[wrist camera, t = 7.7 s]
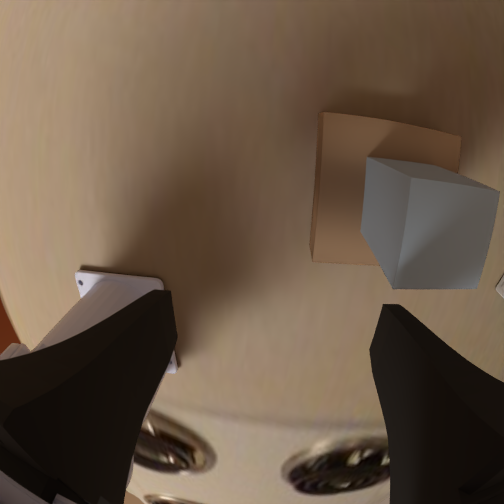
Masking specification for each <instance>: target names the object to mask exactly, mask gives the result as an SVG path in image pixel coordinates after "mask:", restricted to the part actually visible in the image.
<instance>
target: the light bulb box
mask: <svg viewBox="0 0 504 504" xmlns="http://www.w3.org/2000/svg"><path fill="white" fill-rule="evenodd" d="M496 291H497V292H498V293H499V294H500V295H501V296H502V297H503V298H504V275H503V277H502V278H501V280H500V282H499V283H498V285H497V286H496Z"/></svg>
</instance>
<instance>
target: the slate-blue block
mask: <svg viewBox="0 0 504 504" xmlns="http://www.w3.org/2000/svg"><path fill="white" fill-rule="evenodd" d="M499 194H500V191H497V190H495V189H493V188H491V187H488V186H486V185H484V184H482V183H479V182H477V181H474V180H472V179H470V178H467V177H465V176H462V175H460V174H457V173H454V172H452V171H449V170H446V169H444V168H441V167H438V166H435V165H430V164H423V163H416V162H409V161H401V160H392V159H384V158H374V157H367V161H366V177H365V190H364V201H363V212H362V221H361V230H360V232H361V233H362V235H363V237H364V238H365V240H366V242H367V244H368V245H369V247H370V249H371V250H372V252H373V254H374V256H375V257H376V259H377V261H378V263H379V264H380V266H381V268H382V270H383V272H384V274H385V275H386V277H387V279H388V281H389V283H390V285H391V286H392V288H393V289H477V286H478V283H479V280H480V277H481V273H482V270H483V267H484V263H485V260H486V256H487V252H488V248H489V244H490V240H491V236H492V231H493V227H494V222H495V217H496V212H497V206H498V200H499Z"/></svg>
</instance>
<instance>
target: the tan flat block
mask: <svg viewBox="0 0 504 504" xmlns="http://www.w3.org/2000/svg"><path fill="white" fill-rule="evenodd" d="M460 149H461V136H457V135H453V134H449V133H445V132H441V131H437V130H433V129H429V128H424V127H420V126H415V125H410V124H405V123H400V122H395V121H389V120H383V119H377V118H371V117H364V116H357V115H349V114H340V113H331V112H322V113H319V114H318V134H317V154H316V170H315V185H314V199H313V211H312V223H311V234H310V244H309V245H310V250H311V256H312V262H320V263H337V264H355V265H373V266H380V264H379V263H378V261H377V259H376V257H375V256H374V254H373V252H372V250H371V249H370V247H369V245H368V244H367V242H366V240H365V238H364V237H363V235H362V233H361V232H360V230H361V221H362V212H363V201H364V190H365V177H366V161H367V157H374V158H384V159H392V160H401V161H409V162H416V163H423V164H430V165H435V166H438V167H441V168H444V169H446V170H449V171H452V172H454V173H457V174H458V168H459V159H460Z"/></svg>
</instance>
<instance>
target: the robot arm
mask: <svg viewBox="0 0 504 504" xmlns="http://www.w3.org/2000/svg"><path fill="white" fill-rule="evenodd" d="M75 278H76V282H77V285H78V289H79V293H80V296H81V299H80V300H79V301H78V302H77V303H76V304H75V305H74V306H73V307H72V308H71V310H70V311H69V312H68V313H67V314H66V315H65V316H64V317H63V318H62V319H61V320H60V321H59V322H58V323H57V324H56V325H55V327H54V328H53V329H52V330H51V331H50V332H49V333H48V334H47V335H46V336H45V337H44V339H43V340H42V341H41V342H40V343H39V344H38V345H37V346H36V348H34V349H33V350H31V351H30V350H29V349H28V347H27V346H26V345H25V344H23V343H22V344H20V345H19V344H15V343H12V344H11V345H10V346H9V347H8V348H7V349H6V350H5V351H4V352H3V353H2V354H1V355H0V504H124V497H125V491H126V488H127V486H128V484H129V482H130V480H131V476H132V472H133V453H134V450H135V446H136V442H137V439H138V435H139V432H140V429H141V426H142V424H143V422H144V421H145V419H146V417H147V415H148V412H149V410H150V408H151V405H152V403H153V401H154V398H155V396H156V394H157V392H158V389H159V387H160V385H161V382H162V380H163V378H164V376H165V373H166V372H167V373H173V374H174V373H176V372H177V370H178V367H177V362H176V357H175V352H174V347H175V344H176V341H177V331H176V324H175V318H174V311H173V305H172V297H171V291H167V290H164V286H163V282H162V281H161V280H160V279H158V278H151V277H141V276H132V275H122V274H113V273H104V272H95V271H86V270H78V271H77V272H76V273H75ZM81 281H82V282H83V283H82V282H81ZM369 350H370V358H371V366H372V373H373V377H374V381H375V385H376V389H377V393H378V396H379V400H380V404H381V408H382V412H383V416H384V420H385V424H386V430H387V435H388V445H389V457H390V504H504V383H503V382H502V381H500V380H498V379H496V378H494V377H492V376H491V375H489V374H488V373H486V372H484V371H483V370H481V369H480V368H478V367H477V366H475V365H474V364H472V363H471V362H469V361H468V360H467V359H465V358H464V357H462V356H461V355H460V354H459V353H457V352H456V351H455V350H453V349H452V348H451V347H450V346H448V345H447V344H446V343H445V342H444V341H442V340H441V339H440V338H439V337H438V336H436V335H435V334H434V333H433V332H432V331H431V330H429V329H428V328H427V327H426V326H425V325H424V324H423V323H421V322H420V321H419V320H418V319H417V318H416V317H415V316H413V315H412V314H411V313H410V312H409V311H407V310H406V309H405V308H404V307H402V306H401V305H399V304H383V306H382V310H381V313H380V317H379V320H378V324H377V327H376V330H375V334H374V337H373V340H372V343H371V346H370V349H369ZM170 360H171V361H170Z"/></svg>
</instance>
